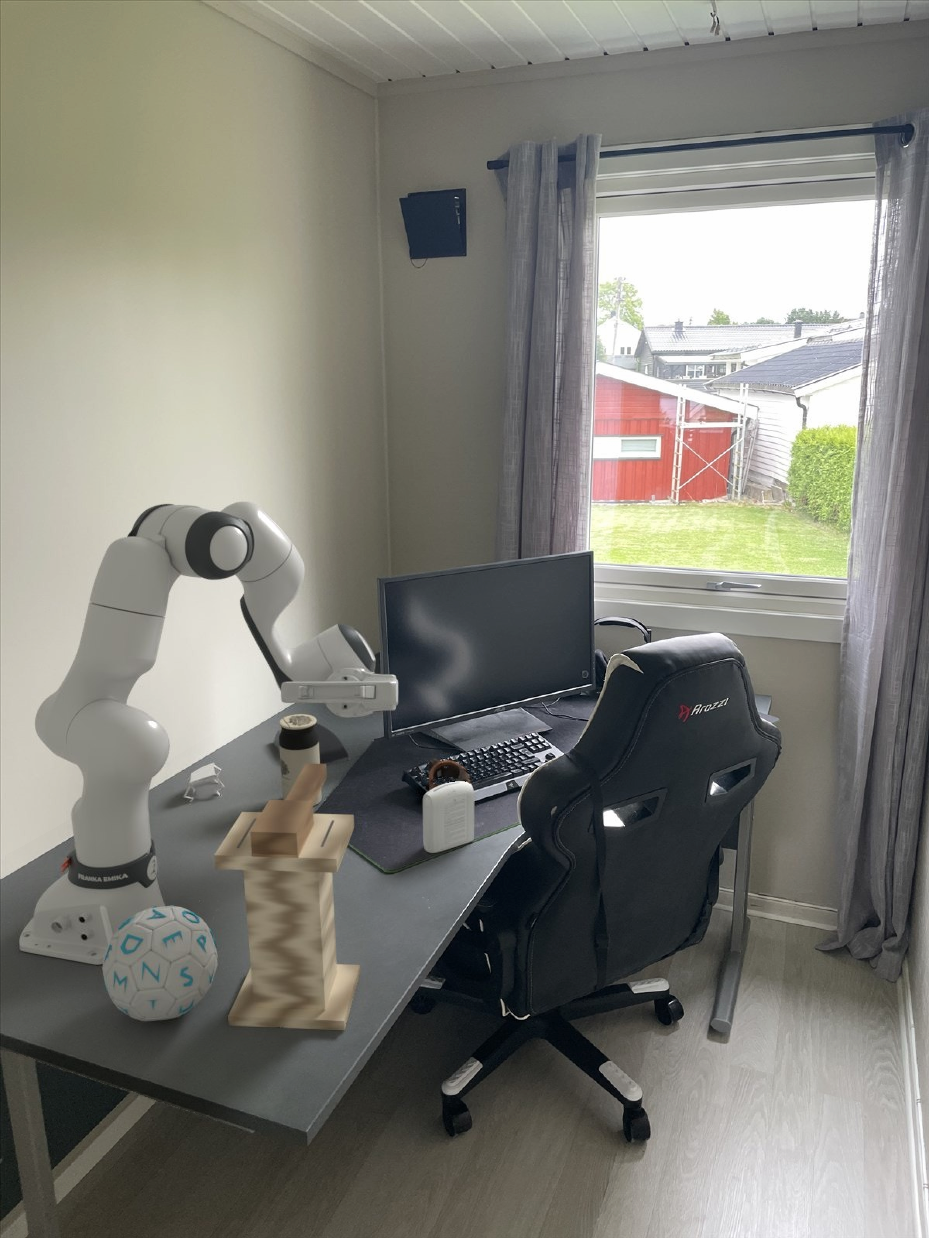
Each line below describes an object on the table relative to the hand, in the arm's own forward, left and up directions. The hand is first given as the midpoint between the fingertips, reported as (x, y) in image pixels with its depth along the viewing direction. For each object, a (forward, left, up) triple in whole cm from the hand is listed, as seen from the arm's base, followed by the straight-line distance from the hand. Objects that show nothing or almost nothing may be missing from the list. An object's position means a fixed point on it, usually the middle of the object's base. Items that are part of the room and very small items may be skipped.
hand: (330, 691), depth 149 cm
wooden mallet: (0, -25, -9) cm, 26 cm away
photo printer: (+18, +14, -36) cm, 42 cm away
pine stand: (0, -31, -35) cm, 47 cm away
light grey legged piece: (-35, +34, -36) cm, 60 cm away
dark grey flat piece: (-18, +56, -36) cm, 69 cm away
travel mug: (-14, +30, -36) cm, 49 cm away
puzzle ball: (-18, -34, -36) cm, 52 cm away
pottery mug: (+16, +37, -36) cm, 53 cm away
